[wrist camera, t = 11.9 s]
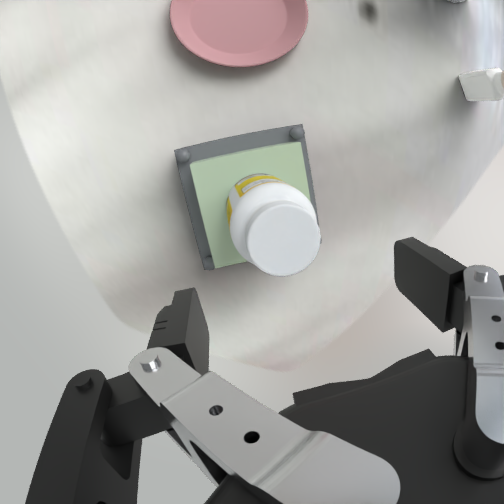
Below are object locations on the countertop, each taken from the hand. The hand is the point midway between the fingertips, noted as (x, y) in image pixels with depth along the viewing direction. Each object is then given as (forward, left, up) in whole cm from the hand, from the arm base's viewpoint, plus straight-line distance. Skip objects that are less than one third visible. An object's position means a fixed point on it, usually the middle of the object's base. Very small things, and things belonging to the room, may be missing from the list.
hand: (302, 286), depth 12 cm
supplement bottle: (0, 0, -15) cm, 15 cm away
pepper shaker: (-33, -10, -23) cm, 41 cm away
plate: (-3, -20, -23) cm, 31 cm away
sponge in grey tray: (0, 0, -23) cm, 23 cm away
